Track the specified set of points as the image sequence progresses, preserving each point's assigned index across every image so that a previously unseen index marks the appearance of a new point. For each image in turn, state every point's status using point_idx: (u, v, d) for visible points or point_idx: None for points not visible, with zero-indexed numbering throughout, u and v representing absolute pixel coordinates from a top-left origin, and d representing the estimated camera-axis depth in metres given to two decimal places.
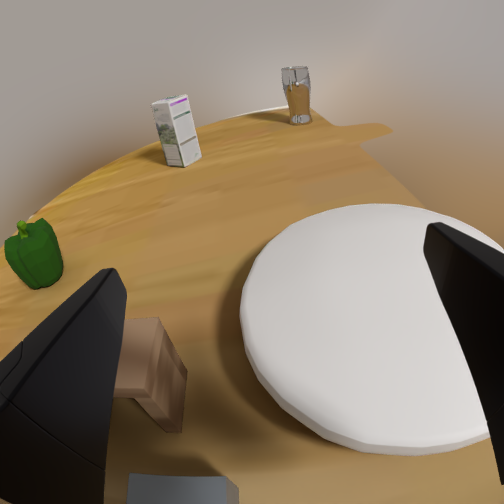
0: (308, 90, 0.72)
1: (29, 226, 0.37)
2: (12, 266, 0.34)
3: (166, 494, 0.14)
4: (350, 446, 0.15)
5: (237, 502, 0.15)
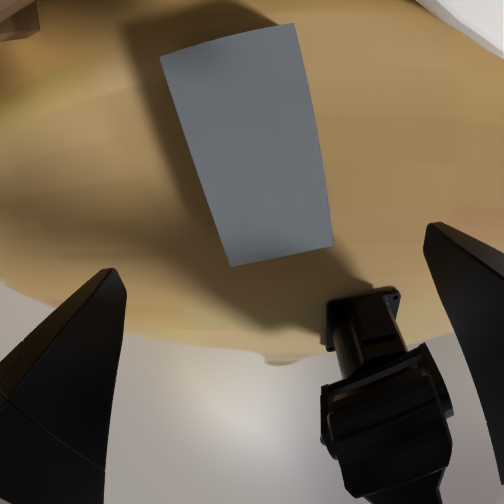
0: None
1: None
2: None
3: (222, 64, 0.12)
4: (436, 13, 0.10)
5: None
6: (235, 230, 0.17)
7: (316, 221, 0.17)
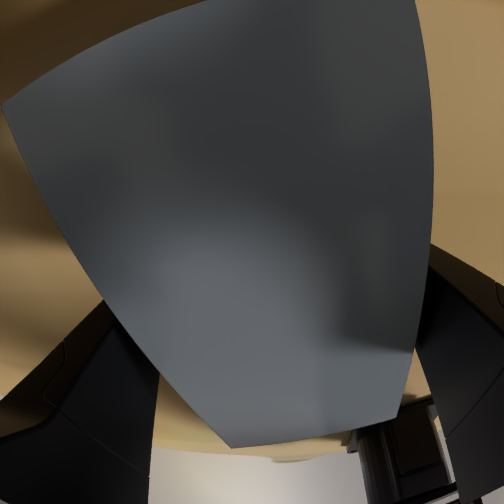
0: None
1: None
2: None
3: (173, 107, 0.04)
4: None
5: None
6: (237, 423, 0.09)
7: (378, 402, 0.08)
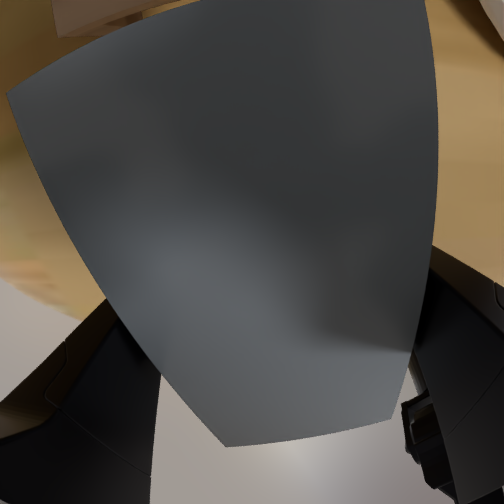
0: None
1: None
2: None
3: (183, 99, 0.04)
4: None
5: None
6: (233, 421, 0.09)
7: (375, 403, 0.09)
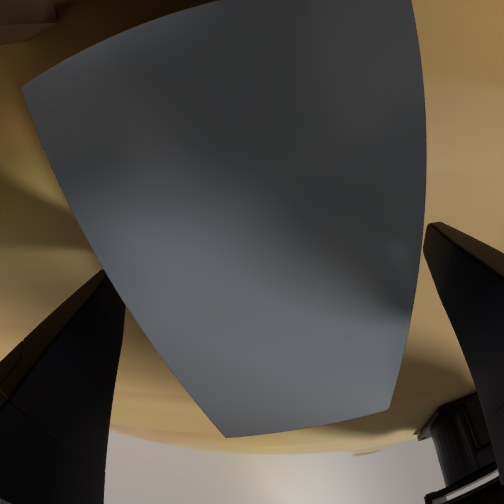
0: None
1: None
2: None
3: (188, 94, 0.04)
4: None
5: None
6: (233, 410, 0.09)
7: (372, 392, 0.09)
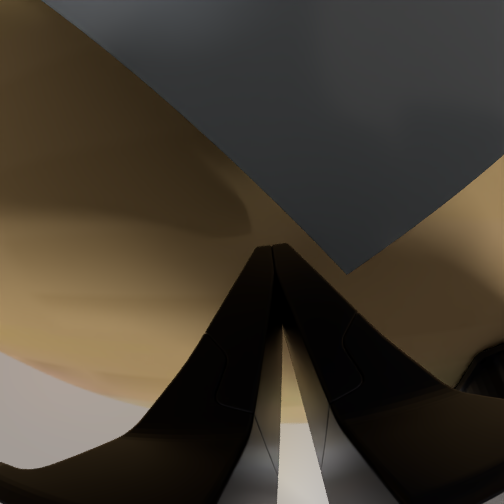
0: None
1: None
2: None
3: None
4: None
5: None
6: (308, 141, 0.04)
7: None
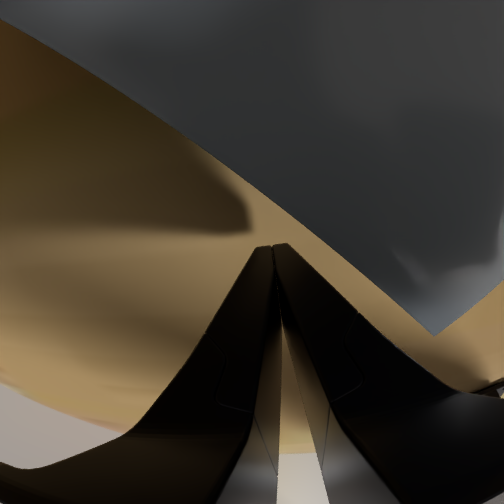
0: None
1: None
2: None
3: None
4: None
5: None
6: (427, 269, 0.06)
7: None
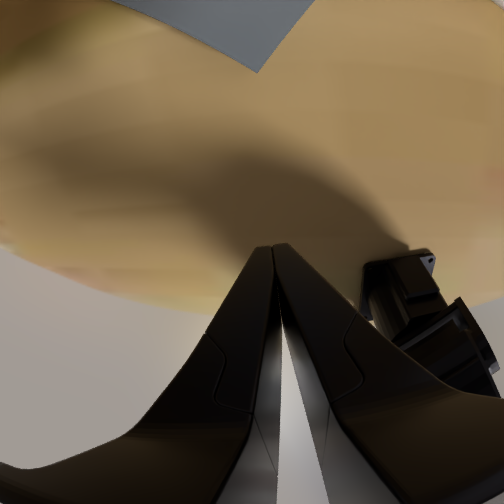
0: None
1: None
2: None
3: None
4: None
5: None
6: (225, 31, 0.12)
7: None
